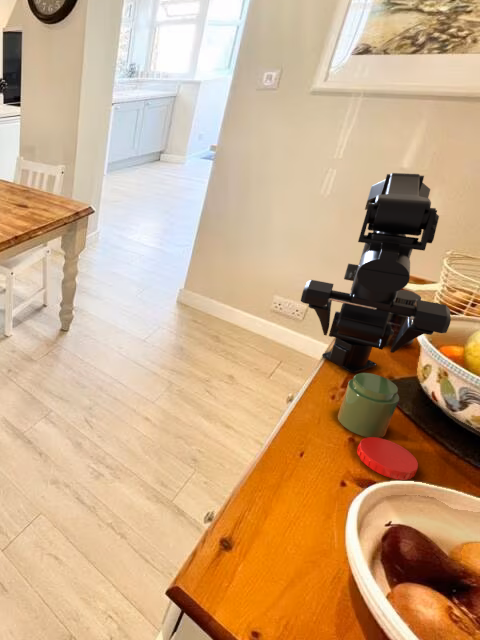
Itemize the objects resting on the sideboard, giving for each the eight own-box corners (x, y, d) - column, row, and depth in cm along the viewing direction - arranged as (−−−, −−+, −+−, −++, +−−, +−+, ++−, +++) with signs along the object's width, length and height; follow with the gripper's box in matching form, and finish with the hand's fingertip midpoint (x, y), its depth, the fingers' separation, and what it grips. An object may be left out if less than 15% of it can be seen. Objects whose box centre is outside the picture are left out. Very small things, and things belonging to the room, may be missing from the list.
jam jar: (353, 406, 77) (367, 367, 73) (395, 431, 71) (412, 389, 67) (328, 417, 75) (341, 376, 72) (368, 443, 70) (384, 400, 66)
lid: (374, 478, 64) (377, 470, 63) (347, 443, 70) (349, 435, 69) (427, 482, 62) (431, 474, 62) (394, 446, 69) (397, 438, 68)
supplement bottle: (380, 328, 96) (395, 284, 91) (418, 343, 90) (437, 296, 85) (362, 336, 94) (376, 292, 89) (400, 352, 88) (417, 305, 83)
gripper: (460, 263, 68) (430, 338, 74) (318, 243, 81) (302, 309, 87) (465, 289, 61) (431, 370, 67) (309, 263, 74) (292, 333, 80)
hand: (357, 342), depth 76 cm, fingers open, 9 cm apart
